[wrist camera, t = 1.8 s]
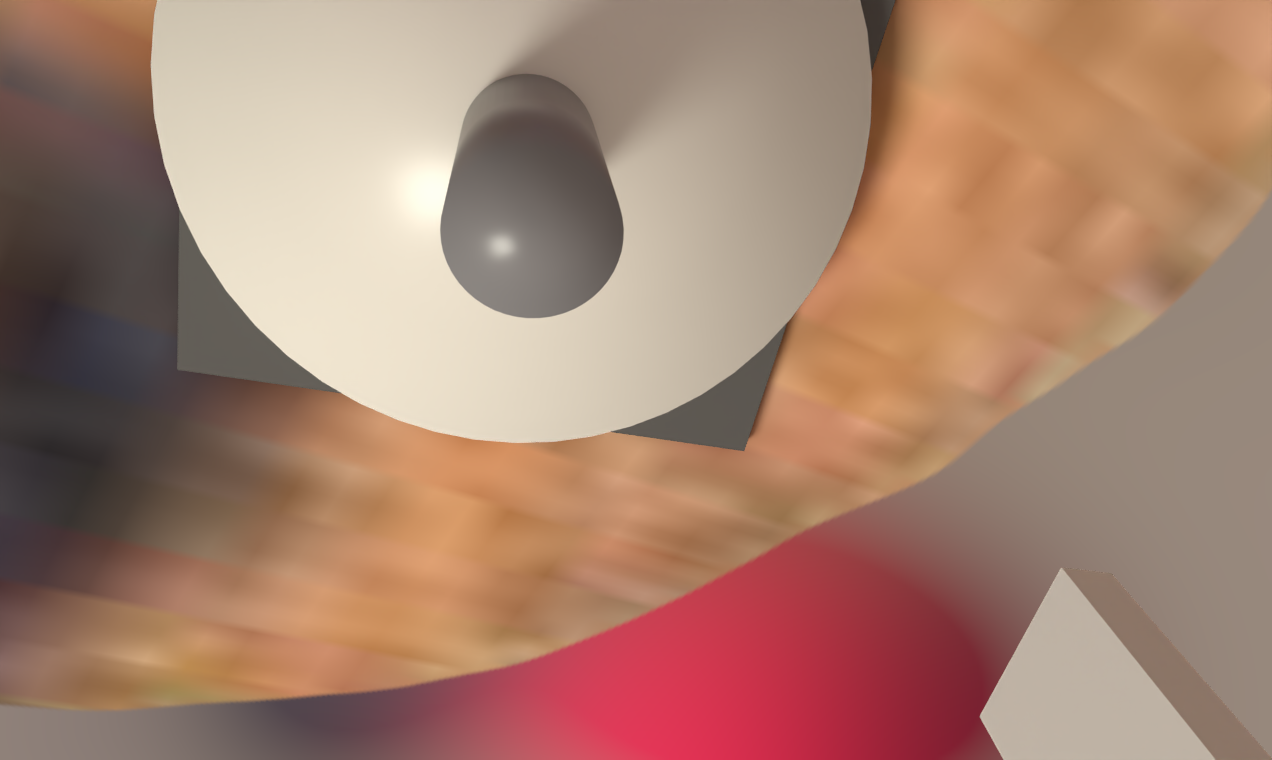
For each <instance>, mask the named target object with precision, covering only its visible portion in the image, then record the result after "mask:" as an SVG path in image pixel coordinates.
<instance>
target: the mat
mask: <svg viewBox="0 0 1272 760" xmlns="http://www.w3.org/2000/svg"><path fill="white" fill-rule="evenodd" d="M860 1H861V6H862V10H863V14H864V19H865V23H866V27H867V32H868V43H869V53H870V63H871V72H872V69H873V66H874V63H875V60H876V57H877V54H878V51H879V48H880V45H881V42H882V39H883V36H884V33H885V30H886V27H887V24H888V21H889V18H890V15H891V12H892V9H893V6H894V3H895V0H860ZM786 325H787V323H786V324H785V325H784V326H783V328H782V329H781V330H780V331H779V332H778V333H777V334H776V335H775V336H774V337H773V338H772V339H771V340H770V342H769V343H768V344H767V345H766V346H765V347H764V348H763V349H762V350H760V351H759V352H758V353H757V354H756V355H755V356H753V357H752V358H751V359H750V360H749V361H747V362H746V363H745V364H744V365H743V366H742V367H740V368H739V369H738V370H737V371H736V372H735V373H733V374H732V375H730V376H729V377H727V378H726V379H724V380H723V381H721V382H720V383H718V384H717V385H715V386H714V387H712V388H711V389H709V390H708V391H706V392H705V393H703V394H702V395H700V396H698V397H696V398H694V399H692V400H690V401H688V402H687V403H685V404H683V405H681V406H679V407H677V408H675V409H673V410H671V411H669V412H667V413H665V414H662V415H659V416H657V417H654V418H652V419H649V420H646V421H644V422H641V423H638V424H636V425H633V426H630V427H627V428H623V429H619V430H615V431H611V432H615V433H622V434H629V435H636V436H643V437H650V438H657V439H664V440H671V441H678V442H685V443H692V444H699V445H706V446H713V447H720V448H727V449H733V450H740V451H744V450H745V447H746V444H747V441H748V438H749V435H750V432H751V429H752V426H753V423H754V420H755V417H756V414H757V411H758V408H759V405H760V402H761V399H762V396H763V393H764V390H765V387H766V384H767V382H768V379H769V376H770V373H771V370H772V367H773V364H774V361H775V358H776V355H777V352H778V349H779V346H780V343H781V340H782V337H783V334H784V331H785V328H786ZM177 370H183V371H190V372H197V373H204V374H211V375H218V376H225V377H232V378H239V379H246V380H253V381H260V382H267V383H274V384H281V385H288V386H295V387H302V388H309V389H316V390H323V391H330V392H337V393H341V392H339V391H337V390H336V389H334V388H332V387H330V386H329V385H327V384H325V383H324V382H322V381H321V380H319V379H318V378H317V377H315V376H314V375H313V374H311V373H310V372H309V371H307V370H306V369H304V368H303V367H302V366H300V365H299V364H298V363H296V362H295V361H294V360H292V359H291V358H290V357H288V356H287V355H286V354H285V353H284V352H283V351H282V350H281V349H280V348H279V347H278V346H276V345H275V344H274V343H273V342H272V341H271V340H270V339H269V338H268V337H267V336H266V335H265V334H264V333H263V332H262V331H261V330H259V329H258V328H257V327H256V326H255V325H254V323H253V322H252V321H251V320H250V319H249V317H248V316H247V315H246V314H245V313H244V312H243V310H242V309H241V308H240V307H239V306H238V304H237V303H236V302H235V301H234V300H233V298H232V297H231V296H230V295H229V294H228V293H227V291H226V290H225V288H224V287H223V285H222V284H221V282H220V281H219V279H218V278H217V276H216V275H215V273H214V272H213V270H212V269H211V267H210V265H209V264H208V262H207V261H206V259H205V258H204V256H203V255H202V253H201V252H200V249H199V247H198V245H197V243H196V241H195V239H194V237H193V235H192V233H191V231H190V229H189V227H188V225H187V223H186V221H185V219H184V217H183V215H182V213H181V211H180V208H179V279H178V364H177Z"/></svg>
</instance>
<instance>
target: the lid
mask: <svg viewBox="0 0 1272 760" xmlns="http://www.w3.org/2000/svg"><path fill="white" fill-rule="evenodd" d="M151 76H152V90H153V105H154V117H155V122H156V127H157V132H158V136H159V141H160V146H161V151H162V156H163V161H164V165H165V168H166V171H167V174H168V177H169V180H170V182H171V185H172V188H173V191H174V194H175V197H176V200H177V203H178V206H179V208H180V211H181V213H182V215H183V217H184V219H185V221H186V223H187V225H188V227H189V229H190V231H191V233H192V235H193V237H194V239H195V241H196V243H197V245H198V247H199V249H200V252H201V253H202V255H203V256H204V258H205V259H206V261H207V262H208V264H209V265H210V267H211V269H212V270H213V272H214V273H215V275H216V276H217V278H218V279H219V281H220V282H221V284H222V285H223V287H224V288H225V290H226V291H227V293H228V294H229V295H230V296H231V297H232V298H233V300H234V301H235V302H236V303H237V304H238V306H239V307H240V308H241V309H242V310H243V312H244V313H245V314H246V315H247V316H248V317H249V319H250V320H251V321H252V322H253V323H254V325H255V326H256V327H257V328H258V329H259V330H261V331H262V332H263V333H264V334H265V335H266V336H267V337H268V338H269V339H270V340H271V341H272V342H273V343H274V344H275V345H276V346H278V347H279V348H280V349H281V350H282V351H283V352H284V353H285V354H286V355H287V356H288V357H290V358H291V359H292V360H294V361H295V362H296V363H298V364H299V365H300V366H302V367H303V368H304V369H306V370H307V371H309V372H310V373H311V374H313V375H314V376H315V377H317V378H318V379H319V380H321V381H322V382H324V383H325V384H327V385H329V386H330V387H332V388H334V389H336V390H337V391H339V392H341V393H343V394H344V395H346V396H348V397H349V398H351V399H353V400H355V401H356V402H358V403H360V404H362V405H365V406H367V407H369V408H371V409H374V410H376V411H378V412H381V413H383V414H385V415H387V416H390V417H392V418H394V419H396V420H399V421H403V422H406V423H409V424H412V425H415V426H419V427H422V428H425V429H428V430H431V431H435V432H439V433H444V434H449V435H454V436H460V437H465V438H470V439H475V440H487V441H499V442H511V443H525V442H555V441H562V440H569V439H576V438H584V437H591V436H595V435H599V434H603V433H607V432H611V431H615V430H619V429H623V428H627V427H630V426H633V425H636V424H638V423H641V422H644V421H646V420H649V419H652V418H654V417H657V416H659V415H662V414H665V413H667V412H669V411H671V410H673V409H675V408H677V407H679V406H681V405H683V404H685V403H687V402H688V401H690V400H692V399H694V398H696V397H698V396H700V395H702V394H703V393H705V392H706V391H708V390H709V389H711V388H712V387H714V386H715V385H717V384H718V383H720V382H721V381H723V380H724V379H726V378H727V377H729V376H730V375H732V374H733V373H735V372H736V371H737V370H738V369H739V368H740V367H742V366H743V365H744V364H745V363H746V362H747V361H749V360H750V359H751V358H752V357H753V356H755V355H756V354H757V353H758V352H759V351H760V350H762V349H763V348H764V347H765V346H766V345H767V344H768V343H769V342H770V340H771V339H772V338H773V337H774V336H775V335H776V334H777V333H778V332H779V331H780V330H781V329H782V328H783V326H784V325H785V324H786V323H787V322H788V321H789V320H790V319H791V318H792V316H793V315H794V314H795V312H796V311H797V310H798V308H799V307H800V306H801V304H802V303H803V301H804V300H805V299H806V297H807V296H808V295H809V293H810V292H811V291H812V289H813V288H814V287H815V285H816V283H817V282H818V280H819V278H820V276H821V274H822V273H823V271H824V269H825V267H826V266H827V264H828V262H829V260H830V259H831V257H832V255H833V253H834V252H835V250H836V247H837V245H838V243H839V240H840V238H841V236H842V233H843V231H844V228H845V226H846V224H847V221H848V219H849V216H850V214H851V212H852V209H853V205H854V202H855V198H856V195H857V191H858V187H859V184H860V180H861V177H862V173H863V170H864V164H865V158H866V151H867V145H868V138H869V132H870V125H871V95H872V73H871V63H870V53H869V43H868V32H867V27H866V23H865V19H864V14H863V10H862V6H861V1H860V0H157V4H156V9H155V13H154V26H153V40H152V55H151Z"/></svg>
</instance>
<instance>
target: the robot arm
mask: <svg viewBox="0 0 1272 760" xmlns="http://www.w3.org/2000/svg"><path fill="white" fill-rule="evenodd" d="M980 718H981V720H982V722H983V723H984V725H985V727H986V729H987V731H988V732H989V734H990V736H991V738H992V740H993V741H994V743H995V745H996V747H997V749H998V750H999V752H1000V754H1001V756H1002V758H1003V759H1004V760H1272V758H1271V757H1270V756H1269V755H1268V753H1267V752H1266V751H1265V750H1264V749H1263V748H1262V747H1261V745H1260V744H1259V743H1258V742H1257V741H1256V740H1255V738H1254V737H1253V736H1252V735H1251V734H1250V733H1249V732H1248V730H1247V729H1246V728H1245V727H1244V726H1243V725H1242V723H1241V722H1240V721H1239V720H1238V719H1237V718H1236V717H1235V715H1234V714H1233V713H1232V712H1231V711H1230V710H1229V708H1227V706H1226V705H1225V704H1224V703H1223V702H1222V700H1221V699H1220V698H1219V697H1218V696H1217V695H1216V693H1215V692H1214V691H1213V690H1212V689H1211V688H1210V687H1209V685H1208V684H1207V683H1206V682H1205V681H1204V680H1203V678H1202V677H1201V676H1200V675H1199V674H1198V673H1197V672H1196V671H1195V669H1194V668H1193V667H1192V666H1191V665H1190V663H1189V662H1188V661H1187V660H1186V659H1185V658H1184V657H1183V656H1182V654H1181V653H1180V652H1179V651H1178V650H1177V649H1176V647H1175V646H1174V645H1173V644H1172V643H1171V642H1170V641H1169V639H1168V638H1167V637H1166V636H1165V635H1164V634H1163V632H1162V631H1161V630H1160V629H1159V628H1158V627H1157V625H1156V624H1155V623H1154V622H1153V621H1152V620H1151V619H1150V617H1149V616H1148V615H1147V614H1146V613H1145V612H1144V611H1143V609H1142V608H1141V607H1140V606H1139V605H1138V604H1137V602H1136V601H1135V600H1134V599H1133V598H1132V597H1131V595H1130V594H1129V593H1128V592H1127V591H1126V590H1125V589H1124V587H1123V586H1122V585H1121V584H1120V583H1119V582H1118V580H1117V579H1116V578H1115V577H1114V576H1113V575H1112V574H1110V573H1103V572H1095V571H1087V570H1078V569H1071V568H1063V567H1062V568H1061V569H1060V571H1059V573H1058V574H1057V576H1056V578H1055V580H1054V582H1053V584H1052V585H1051V587H1050V589H1049V591H1048V593H1047V594H1046V596H1045V598H1044V600H1043V602H1042V604H1041V605H1040V607H1039V609H1038V611H1037V613H1036V615H1035V616H1034V618H1033V620H1032V622H1031V624H1030V625H1029V627H1028V629H1027V631H1026V633H1025V635H1024V637H1023V638H1022V640H1021V642H1020V644H1019V646H1018V647H1017V649H1016V651H1015V653H1014V655H1013V656H1012V659H1011V660H1010V662H1009V664H1008V666H1007V668H1006V669H1005V671H1004V673H1003V675H1002V677H1001V678H1000V680H999V682H998V684H997V686H996V687H995V689H994V691H993V693H992V695H991V697H990V699H989V700H988V702H987V704H986V706H985V708H984V709H983V711H982V713H981V715H980Z"/></svg>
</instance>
